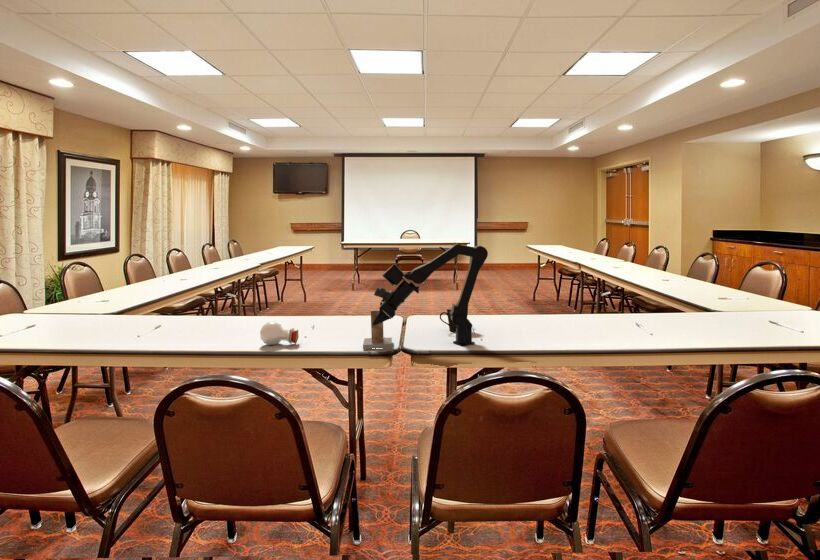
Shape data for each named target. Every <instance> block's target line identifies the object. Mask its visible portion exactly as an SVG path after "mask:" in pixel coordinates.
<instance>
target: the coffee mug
mask: <svg viewBox="0 0 820 560" xmlns="http://www.w3.org/2000/svg"><path fill="white" fill-rule="evenodd" d="M451 309H452V306H450V307H446V312H445V311H442V312H441V313H440V314H439V319H440V320H441V322H443V323H444V324H445V325H448V328H449V330H448V331H449V332H450V333H456V327H457V325H455V324H454V323H453V321H452V319H451V314H450V313H449V312H450V311H451ZM443 314H445V315H446V316H447V320H448V321H447V322H446V321H444V320H443V319H442V315H443Z"/></svg>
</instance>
